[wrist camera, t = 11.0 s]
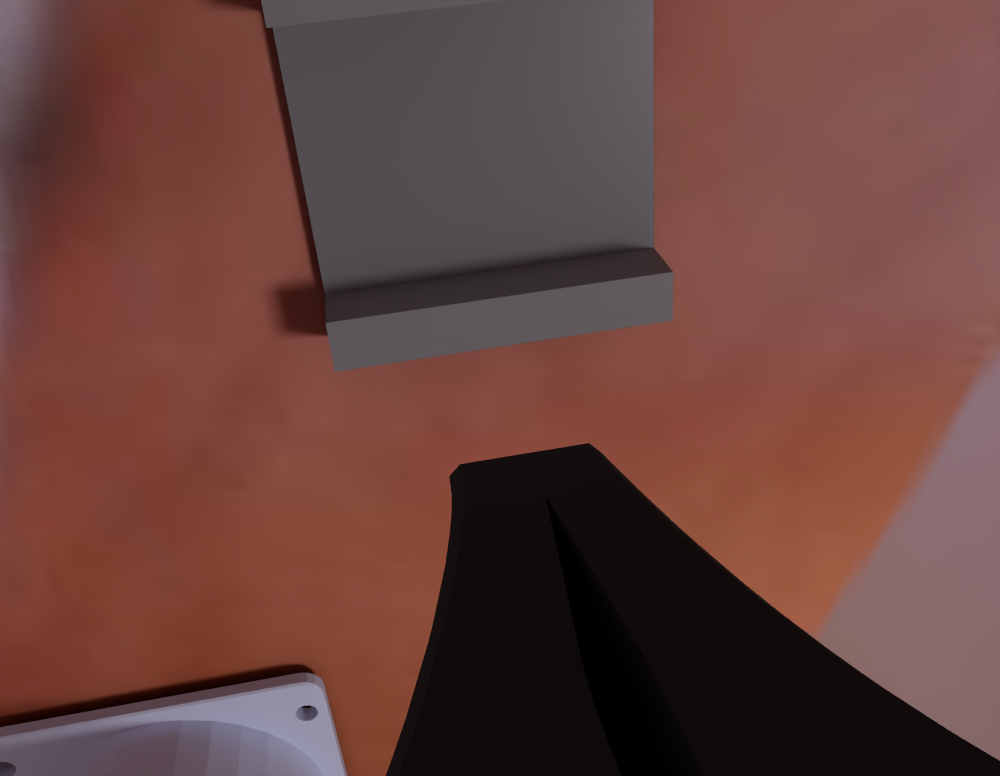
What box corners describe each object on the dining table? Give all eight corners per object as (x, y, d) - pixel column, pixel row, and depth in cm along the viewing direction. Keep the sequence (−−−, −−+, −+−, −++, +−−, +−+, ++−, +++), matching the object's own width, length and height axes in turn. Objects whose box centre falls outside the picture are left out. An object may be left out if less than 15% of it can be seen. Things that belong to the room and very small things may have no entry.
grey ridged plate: (650, 290, 19) (672, 320, 18) (333, 337, 19) (334, 371, 17) (649, -96, 16) (676, -91, 14) (257, -54, 15) (251, -44, 14)
